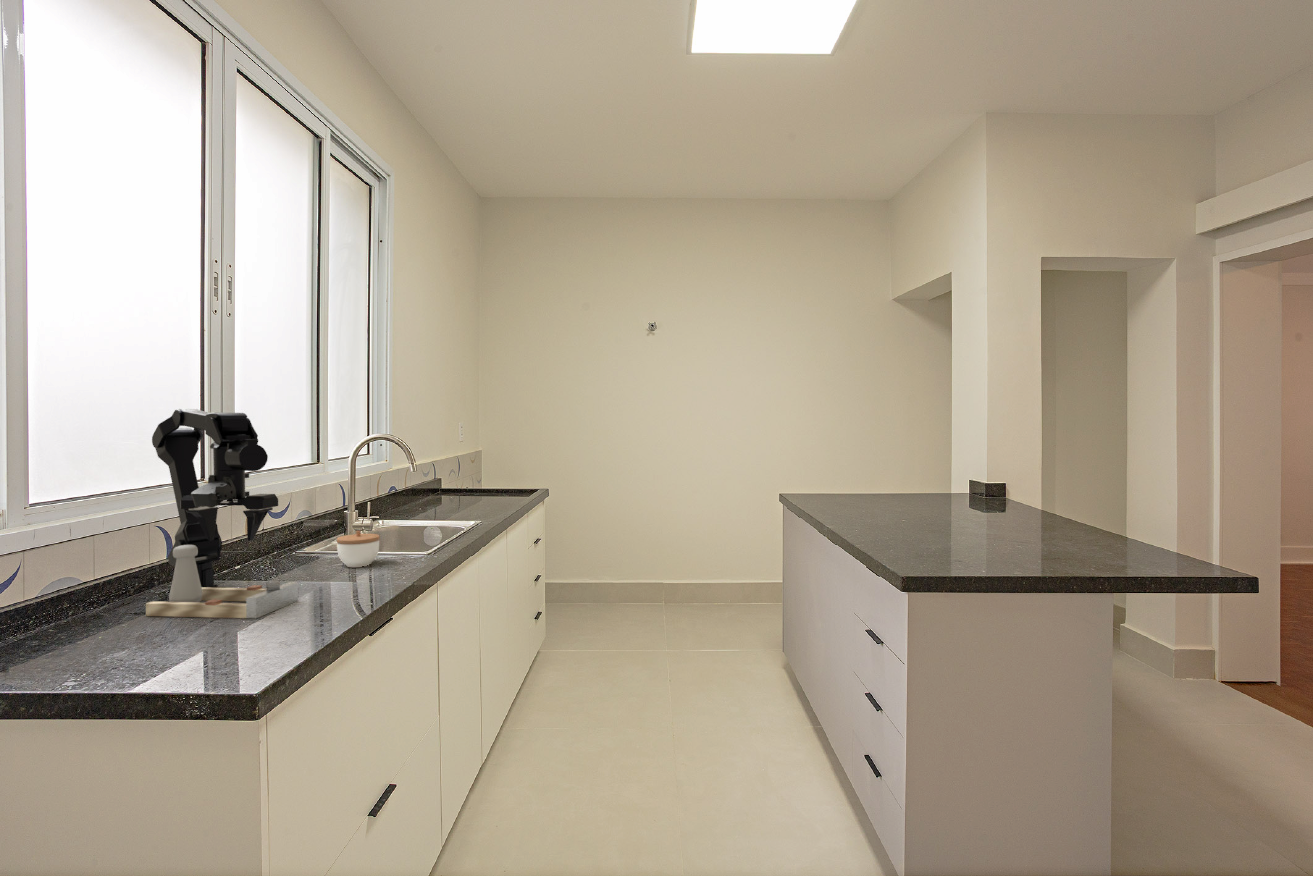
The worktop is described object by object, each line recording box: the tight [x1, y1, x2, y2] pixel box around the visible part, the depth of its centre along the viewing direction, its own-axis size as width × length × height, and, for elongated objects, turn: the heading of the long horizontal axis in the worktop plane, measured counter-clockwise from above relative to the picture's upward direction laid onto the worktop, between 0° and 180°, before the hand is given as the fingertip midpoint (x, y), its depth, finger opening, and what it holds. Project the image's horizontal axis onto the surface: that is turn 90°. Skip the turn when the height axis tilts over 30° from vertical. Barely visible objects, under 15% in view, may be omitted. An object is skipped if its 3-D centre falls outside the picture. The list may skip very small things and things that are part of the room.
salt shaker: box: [168, 545, 203, 602], centre depth 135 cm, size 6×6×13 cm
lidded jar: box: [336, 530, 381, 568], centre depth 176 cm, size 11×11×9 cm
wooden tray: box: [145, 580, 299, 619], centre depth 135 cm, size 24×14×6 cm, turn 85°
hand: (230, 540), depth 141 cm, fingers open, 9 cm apart
